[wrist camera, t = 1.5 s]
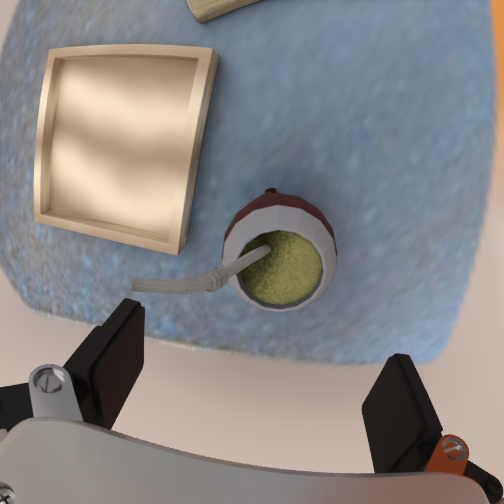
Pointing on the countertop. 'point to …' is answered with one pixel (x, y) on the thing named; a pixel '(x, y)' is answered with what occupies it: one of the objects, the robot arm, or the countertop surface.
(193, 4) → the computer
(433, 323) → the countertop surface
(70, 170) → the tray
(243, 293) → the mate gourd
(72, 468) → the robot arm
